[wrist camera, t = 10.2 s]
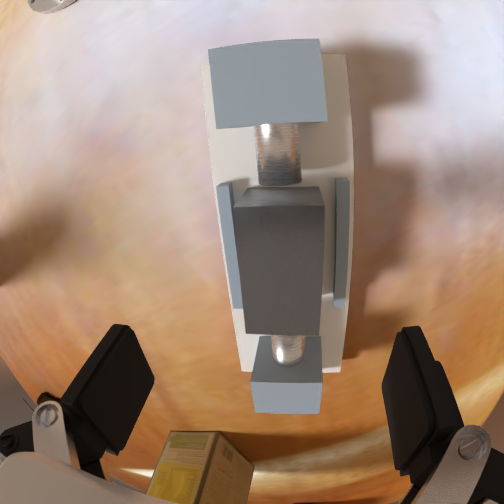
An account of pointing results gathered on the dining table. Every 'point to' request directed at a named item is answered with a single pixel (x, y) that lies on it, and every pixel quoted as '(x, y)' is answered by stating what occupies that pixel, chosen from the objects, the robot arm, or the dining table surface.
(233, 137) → the shaft stand
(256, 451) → the dining table surface
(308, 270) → the block
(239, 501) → the food packaging
